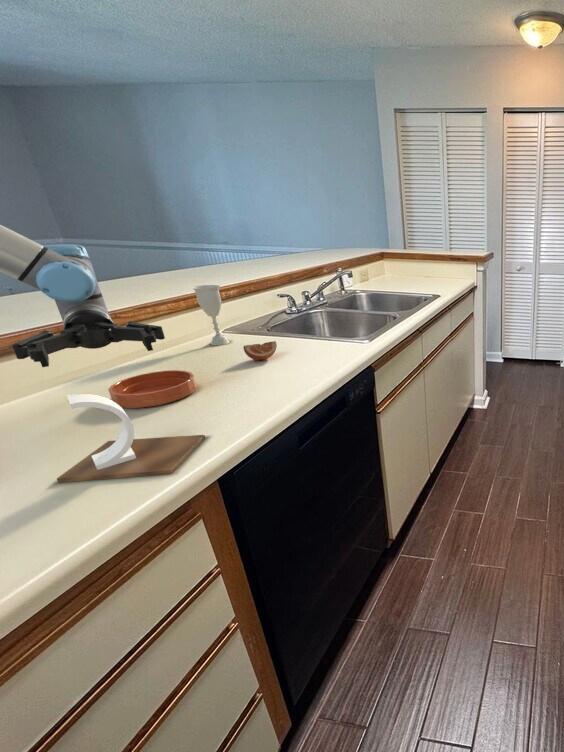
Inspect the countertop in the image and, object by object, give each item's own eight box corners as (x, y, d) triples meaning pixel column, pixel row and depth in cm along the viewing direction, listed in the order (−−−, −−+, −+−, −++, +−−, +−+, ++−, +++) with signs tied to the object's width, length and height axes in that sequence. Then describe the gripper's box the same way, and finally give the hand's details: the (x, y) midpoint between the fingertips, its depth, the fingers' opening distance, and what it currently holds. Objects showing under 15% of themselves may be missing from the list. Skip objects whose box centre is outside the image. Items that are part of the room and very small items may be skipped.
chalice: (201, 345, 134) (186, 288, 127) (218, 339, 140) (204, 284, 133) (222, 346, 133) (207, 289, 126) (238, 340, 139) (225, 285, 132)
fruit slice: (275, 353, 127) (272, 338, 125) (282, 359, 123) (279, 343, 121) (244, 359, 122) (240, 343, 120) (250, 365, 117) (246, 348, 116)
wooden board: (58, 482, 67) (56, 478, 67) (109, 444, 78) (108, 440, 78) (171, 473, 70) (170, 469, 69) (205, 438, 81) (204, 434, 80)
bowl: (96, 412, 90) (90, 397, 88) (140, 385, 103) (135, 371, 102) (176, 407, 92) (171, 393, 91) (208, 381, 106) (205, 368, 105)
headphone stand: (92, 459, 72) (66, 395, 67) (138, 446, 76) (116, 385, 71) (97, 470, 69) (69, 403, 64) (144, 455, 73) (121, 392, 69)
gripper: (170, 334, 97) (190, 356, 83) (7, 357, 80) (-1, 389, 66) (160, 302, 94) (180, 319, 80) (-11, 318, 77) (-22, 343, 64)
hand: (98, 351), depth 73 cm, fingers open, 13 cm apart
